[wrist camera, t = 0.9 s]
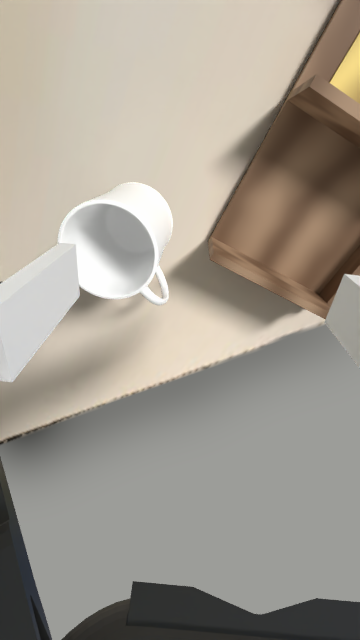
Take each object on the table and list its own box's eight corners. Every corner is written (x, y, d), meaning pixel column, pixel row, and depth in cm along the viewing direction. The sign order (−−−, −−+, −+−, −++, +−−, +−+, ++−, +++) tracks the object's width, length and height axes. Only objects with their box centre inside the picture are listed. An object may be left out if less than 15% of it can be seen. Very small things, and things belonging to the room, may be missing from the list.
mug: (197, 264, 35) (196, 310, 25) (137, 291, 38) (114, 344, 27) (149, 166, 30) (124, 173, 20) (84, 205, 33) (31, 228, 22)
